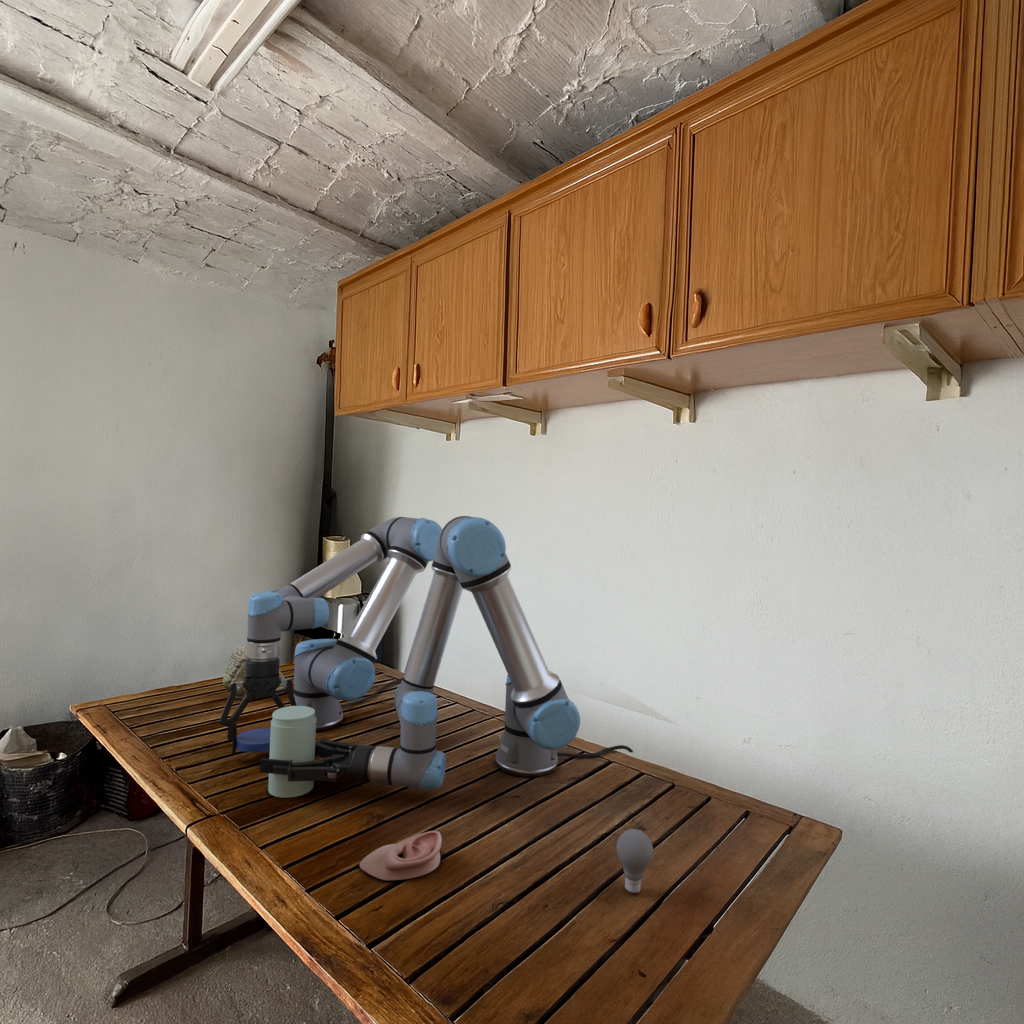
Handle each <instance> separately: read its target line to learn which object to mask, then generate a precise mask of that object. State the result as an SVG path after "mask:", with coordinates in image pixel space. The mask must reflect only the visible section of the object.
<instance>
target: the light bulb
mask: <svg viewBox="0 0 1024 1024" xmlns="http://www.w3.org/2000/svg"><path fill="white" fill-rule="evenodd" d="M615 849H616V854H617V857H618V859H619V861H620V863H621V865H622V867H623V873H624V874H623V875H624V876H625V878H624V888H625V890H627V891H628V892H630V893H634V894H635V893H639V892H640V891H641V889H642V887H641V886H642V879H643V877H644V875H645V871H646V868H647V867H648V866H649V864H650V863H651V861H652V859H653V855H654V847H653V843H652V841H651V838H649V836H648V835H647V834H646V833H645V832H643V831H642V830H641V829H636V828H629V829H627V830H625V831H623V832H622V833H621V834H620V835H619V837H618V839H617V841H616V847H615Z"/></svg>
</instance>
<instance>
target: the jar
mask: <svg viewBox="0 0 1024 1024" xmlns="http://www.w3.org/2000/svg"><path fill="white" fill-rule="evenodd" d="M271 718H272V719H271V720H270V729H271V730H270V750H269V758H268V759H277V760H288V761H290V760H292V763H299V762H309V761H316V760H315V759H316V757H315V742H316V736H317V734H316V733H317V732H316V717H315V710H314V709H313V708H311V707H307V706H290V705H289V706H285V707H283V708H280V709H279V708H277V709H275V710H274V711H273V712H272V714H271ZM314 784H315V781H288V775H282V774H271V773H268V784H267V792H268V793H269V794H270V795H271V796H273V797H276V798H283V799H287V798H288V799H289V798H297V797H300V796H301V797H302V796H304V795H305V794H308V793H309V792H310V791H312V790H313V789H314Z"/></svg>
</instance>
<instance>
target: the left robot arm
mask: <svg viewBox="0 0 1024 1024" xmlns="http://www.w3.org/2000/svg"><path fill="white" fill-rule="evenodd" d="M442 529H443V527H442V526H441V525H440V524H439V523H438V522H436V521H435V520H433V519H428V518H424V517H421V518H420V517H419V518H415V517H407V516H396V517H393V518H389V519H387V520H385V521H383V522H382V523H379V524H378V525H376V526H374V527H373V528H371V529H369V530H367V531H365V532H364V533H362V534H361V536H360V540H358V541H357V542H354V543H353V544H352V545H349V546H348V547H347V548H345V549H343V550H342V551H340V552H339V553H337V554H336V555H335V554H334V556H332V557H330V558H329V559H327V560H326V561H324V562H323V563H321V564H320V565H319V564H318V566H316V567H315V568H313V569H312V570H310V571H308V572H307V573H305V574H303V575H301V576H300V577H298V578H296V579H295V580H293V581H292V582H291V583H289V584H287V585H285V586H284V587H282V588H280V589H271V590H268V591H264V592H263V591H262V592H261V591H260V592H255V593H253V594H251V595H250V597H249V600H248V606H247V607H248V608H247V638H246V647H247V650H246V657H247V658H248V659H247V660H246V672H245V679H244V680H243V681H240V682H236V681H232V682H231V691H230V692H229V694H228V697H227V699H226V701H225V704H224V707H223V710H222V713H221V715H220V718H219V725H220V726H226V727H227V735H226V736H227V738H226V739H227V740H228V741H232V742H231V743H232V745H231V756H236V755H237V748H236V737H237V736H238V723H237V721H238V720H239V718H240V717H241V715H242V714H243V712H244V711H245V709H246V708H247V706H248V705H249V703H250V702H251V701H252V699H253V698H254V699H260V698H266V699H267V698H269V697H271V699H272V700H273V702H274V703H275V705H276V706H277V709H280V708H283V707H286V705H285V704H284V702H283V701H282V699H281V697H280V696H279V694H277V692H276V691H275V690H276V689H277V688H278V686H279V685H280V684H283V687H284V688H286V690H285V691H286V694H287V697H288V700H289V703H290V704H289V706H307V707H311V708H313V709H314V710H315V717H316V733H317V732H325V731H329V730H332V729H335V728H337V727H339V726H340V725H342V723H343V722H344V713H343V709H344V708H346V707H348V708H349V707H351V706H353V705H357V704H360V703H363V702H366V701H368V700H370V699H372V698H373V697H375V696H376V695H377V694H379V693H380V692H381V691H384V689H386V688H388V687H389V686H392V685H394V684H396V683H399V682H400V683H401V681H402V679H403V677H401V678H398V679H395V680H393V681H390V682H388V683H385V684H384V685H383V686H381V687H380V688H378V689H377V690H376V691H374V692H373V693H371V694H370V695H368V696H366V695H367V693H368V692H369V691H370V690H371V689H372V687H373V686H374V684H375V680H376V673H375V672H376V669H375V666H374V665H375V663H376V661H377V660H378V657H377V652H376V650H377V648H378V646H379V644H380V642H381V640H382V638H383V637H384V635H385V633H386V631H387V629H388V628H389V625H390V623H391V621H392V620H393V618H394V616H395V614H396V613H397V610H398V609H399V607H400V605H401V603H402V601H403V599H404V598H405V596H406V594H407V592H408V591H409V588H410V586H411V585H412V583H413V581H414V579H415V577H416V575H418V574H420V573H423V572H424V571H425V570H426V568H427V566H428V564H429V563H430V562H433V559H434V556H435V552H436V547H437V543H438V539H439V535H440V533H441V530H442ZM387 558H388V562H387V563H386V564H385V567H384V569H383V570H382V571H381V573H380V576H379V578H378V579H377V581H376V582H375V584H374V586H373V588H372V590H371V592H369V595H368V597H367V598H366V601H365V602H364V604H363V606H362V607H361V610H360V611H359V613H358V614H357V617H356V618H355V620H354V622H353V624H352V625H351V627H350V629H349V631H348V632H347V634H346V635H345V636H341V637H340V638H338V639H337V638H319V639H308V640H303V641H300V642H297V644H296V646H295V650H294V655H293V657H294V672H293V679H292V677H291V676H288V677H286V678H285V679H280V677H279V670H280V665H281V664H280V662H281V661H280V660H281V659H280V658H279V657H280V656H281V639H282V632H288V631H299V630H300V631H301V630H309V629H310V630H314V629H316V628H320V627H324V626H326V624H327V623H328V621H329V618H330V607H329V604H328V601H327V600H326V599H325V598H323V597H322V596H324V595H326V594H327V593H328V592H330V591H332V590H333V589H335V588H336V587H338V586H339V585H340V584H343V583H344V582H345V581H347V580H348V579H350V578H351V577H353V576H355V575H356V574H358V573H359V572H361V571H362V570H363V569H366V568H367V567H368V566H370V565H371V564H374V563H375V562H376V563H381V562H382V561H384V560H385V559H387ZM242 686H243V687H244V688H245V689H246V690H247V693H246V694H245V696H244V698H241V699H242V700H241V701H240V703H238V705H237V707H236V709H235V710H234V711H233V713H232V715H231V716H230V717H229V715H230V712H231V710H232V707H233V704H234V701H235V699H236V698H235V696H236V692H237V691H239V690H240V688H241V687H242ZM364 696H365V697H364ZM340 701H343V702H348V703H344V704H341V702H340ZM342 708H343V709H342Z"/></svg>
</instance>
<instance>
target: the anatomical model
mask: <svg viewBox="0 0 1024 1024" xmlns="http://www.w3.org/2000/svg"><path fill="white" fill-rule="evenodd" d="M442 843H443V838H442V834H441V833H440V831H438V830H429V831H426V832H422V833H418V834H416V835H414V836H411V837H410V838H407V839H404V840H403V841H400V842H397V843H390V844H386V845H382V846H380V847H378V848H375V850H373V851H371V852H370V853H369V854H367V855H366V856H364V857H363V859H362V860H361V861H360V863H359V868H360V869H361V870H362V871H363V872H365V873H367V874H368V875H370V876H372V877H374V878H376V879H378V880H381V881H389V882H390V881H401V880H409V879H413V878H418V877H421V876H424V875H427V874H430V873H431V872H433V871H435V870H436V869H437V868H438V867H439V866H440V863H441V862H440V861H441V853H440V851H441V848H442Z"/></svg>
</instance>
